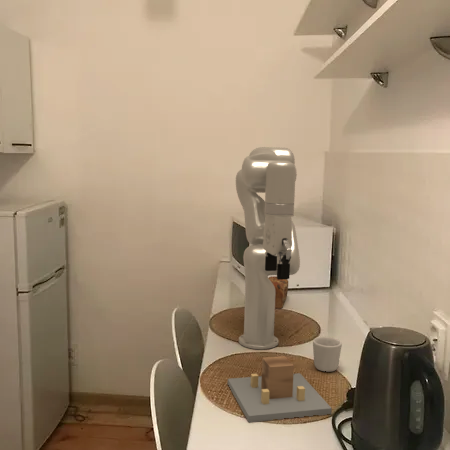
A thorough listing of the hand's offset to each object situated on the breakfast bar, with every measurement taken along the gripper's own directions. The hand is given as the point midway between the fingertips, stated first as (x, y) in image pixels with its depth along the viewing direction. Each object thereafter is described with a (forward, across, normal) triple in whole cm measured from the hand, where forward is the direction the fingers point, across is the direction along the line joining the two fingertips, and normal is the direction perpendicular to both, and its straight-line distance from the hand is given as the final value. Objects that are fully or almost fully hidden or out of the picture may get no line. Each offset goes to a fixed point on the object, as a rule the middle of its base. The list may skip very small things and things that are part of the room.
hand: (276, 274), depth 139 cm
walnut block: (+27, +12, -3) cm, 29 cm away
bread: (+29, -70, +24) cm, 79 cm away
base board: (+28, +12, -3) cm, 31 cm away
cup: (+28, -4, +18) cm, 34 cm away
